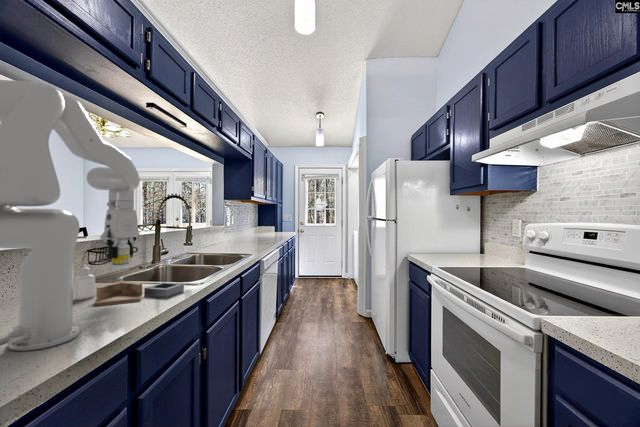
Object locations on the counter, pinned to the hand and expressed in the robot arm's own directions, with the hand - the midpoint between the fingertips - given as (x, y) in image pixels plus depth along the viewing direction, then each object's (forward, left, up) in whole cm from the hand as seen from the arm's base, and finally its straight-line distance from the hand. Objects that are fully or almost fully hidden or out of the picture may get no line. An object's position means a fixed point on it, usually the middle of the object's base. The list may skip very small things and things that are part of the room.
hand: (120, 256), depth 104 cm
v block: (0, 0, -15) cm, 15 cm away
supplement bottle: (0, 0, -4) cm, 4 cm away
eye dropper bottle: (-2, +13, -16) cm, 21 cm away
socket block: (+10, -10, -15) cm, 21 cm away
